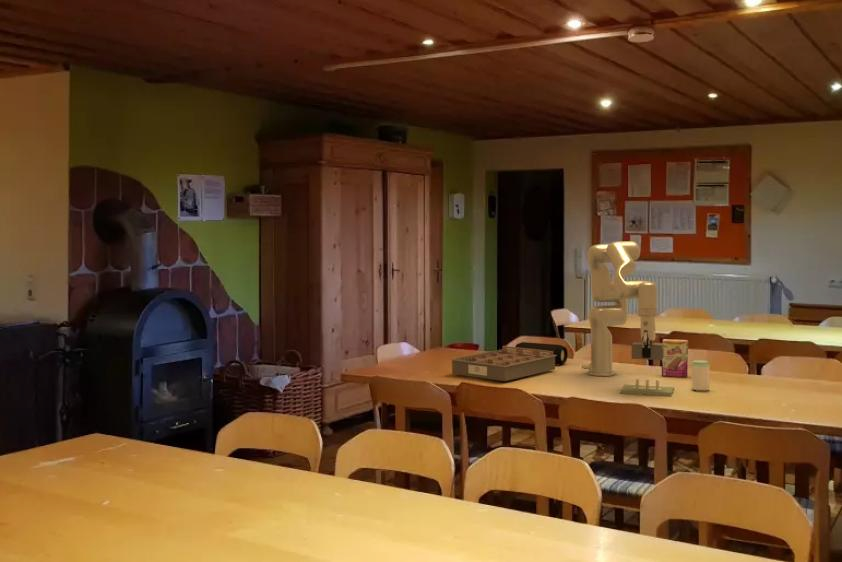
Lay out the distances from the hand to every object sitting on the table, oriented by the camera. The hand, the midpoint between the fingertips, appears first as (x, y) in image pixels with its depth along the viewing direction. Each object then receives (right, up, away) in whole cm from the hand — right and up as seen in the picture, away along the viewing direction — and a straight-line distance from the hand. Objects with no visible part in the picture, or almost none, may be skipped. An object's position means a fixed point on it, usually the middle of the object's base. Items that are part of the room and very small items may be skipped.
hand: (647, 356), depth 349 cm
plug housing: (0, -1, 0) cm, 1 cm away
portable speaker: (-33, -11, +77) cm, 85 cm away
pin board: (0, -15, +1) cm, 15 cm away
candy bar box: (+22, -12, +35) cm, 43 cm away
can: (+23, -14, +4) cm, 27 cm away
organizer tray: (-54, -13, +49) cm, 74 cm away
